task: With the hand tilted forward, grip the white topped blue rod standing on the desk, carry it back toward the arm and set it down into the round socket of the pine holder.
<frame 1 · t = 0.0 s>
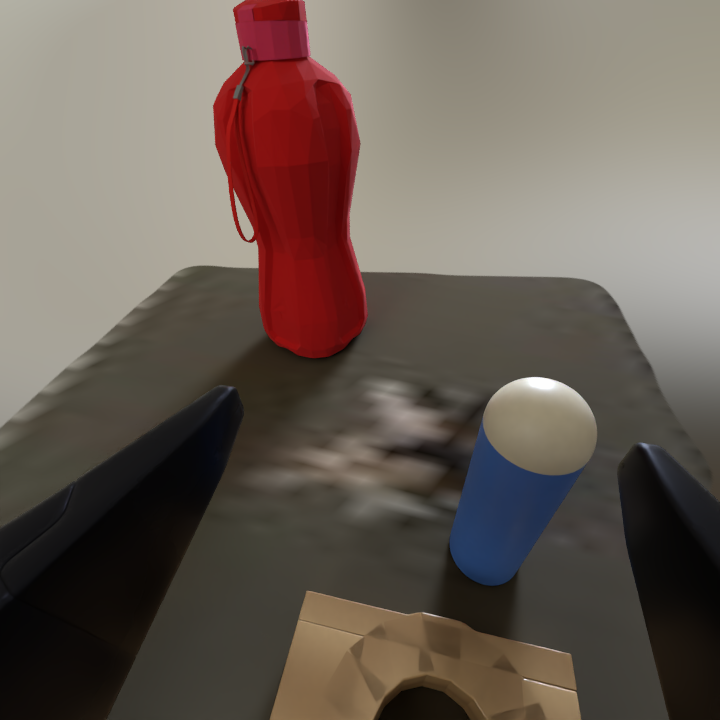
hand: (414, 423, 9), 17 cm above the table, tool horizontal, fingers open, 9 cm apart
water bottle: (312, 337, 38), on the table
white topped blue rod: (483, 548, 22), on the table
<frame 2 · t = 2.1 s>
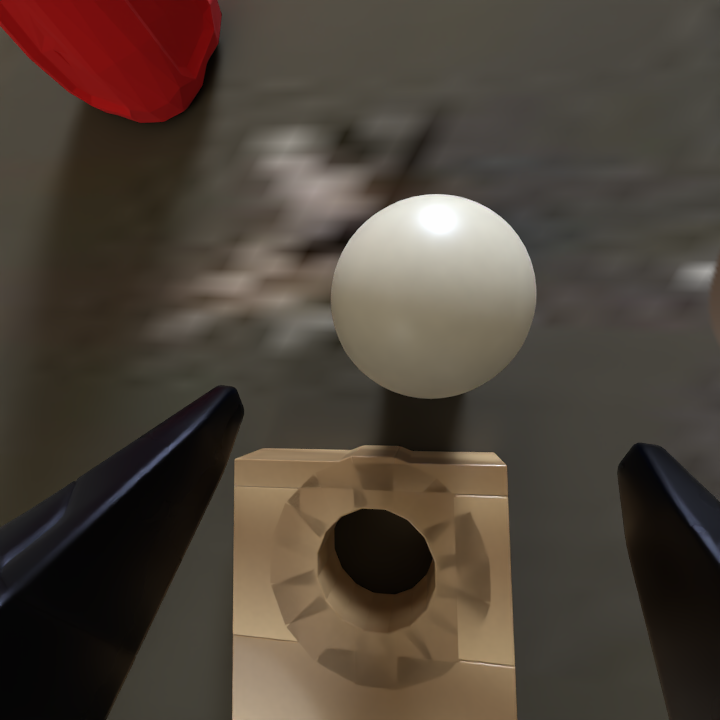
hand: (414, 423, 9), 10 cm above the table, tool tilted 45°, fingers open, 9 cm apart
holder: (373, 581, 19), on the table
water bottle: (153, 73, 23), on the table
white topped blue rod: (428, 351, 19), on the table
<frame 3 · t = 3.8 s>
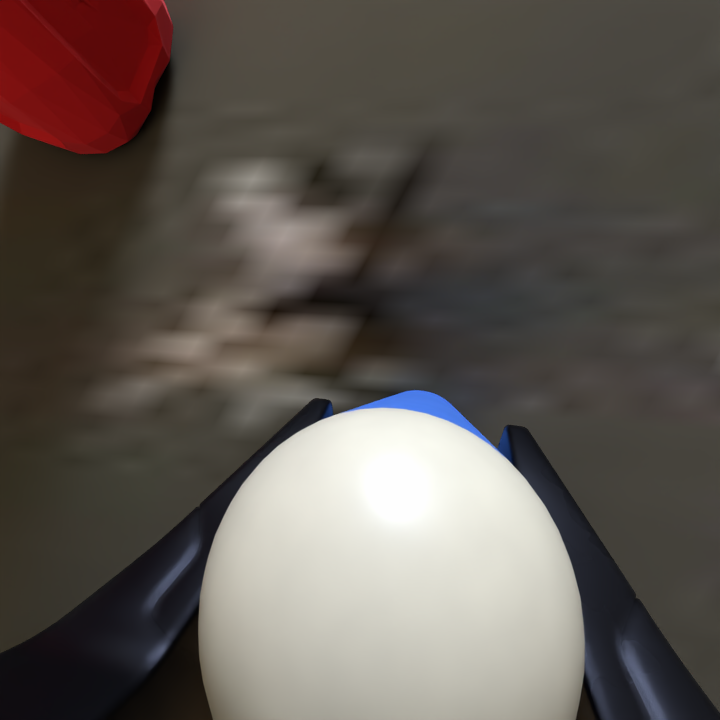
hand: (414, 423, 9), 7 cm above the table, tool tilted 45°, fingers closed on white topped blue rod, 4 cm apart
water bottle: (98, 94, 20), on the table
white topped blue rod: (417, 438, 16), on the table, touching gripper
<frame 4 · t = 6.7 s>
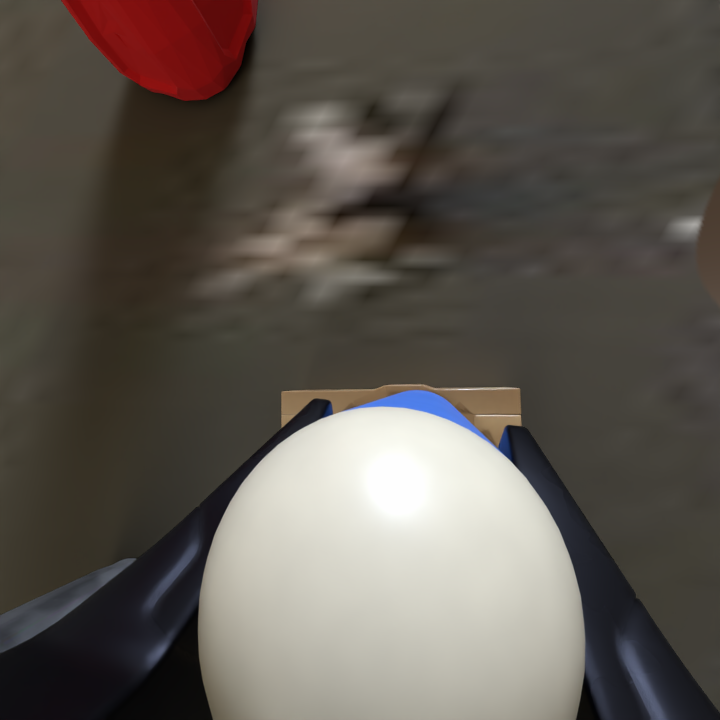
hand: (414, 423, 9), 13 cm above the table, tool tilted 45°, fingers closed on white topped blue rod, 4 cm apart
holder: (401, 502, 21), on the table
water bottle: (194, 56, 26), on the table
beverage cup: (134, 592, 24), on the table
white topped blue rod: (417, 437, 16), point 6 cm above the table, touching gripper
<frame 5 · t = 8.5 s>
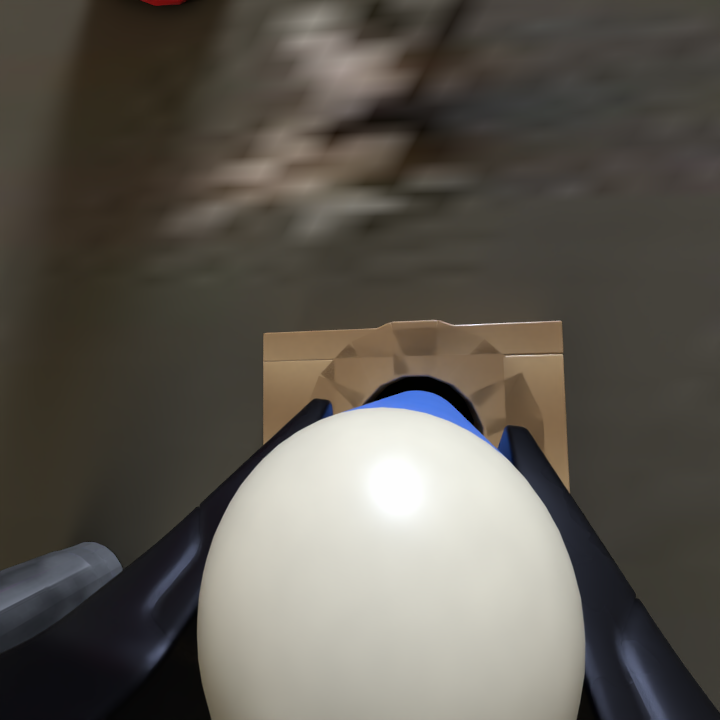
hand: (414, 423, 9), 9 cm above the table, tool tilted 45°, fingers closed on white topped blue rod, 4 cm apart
holder: (409, 472, 18), on the table
beverage cup: (93, 582, 21), on the table
white topped blue rod: (417, 437, 16), point 2 cm above the table, touching gripper
when the fingers open (7 cm above the table, at t = 9.6 s): white topped blue rod stays where it is, resting in holder.
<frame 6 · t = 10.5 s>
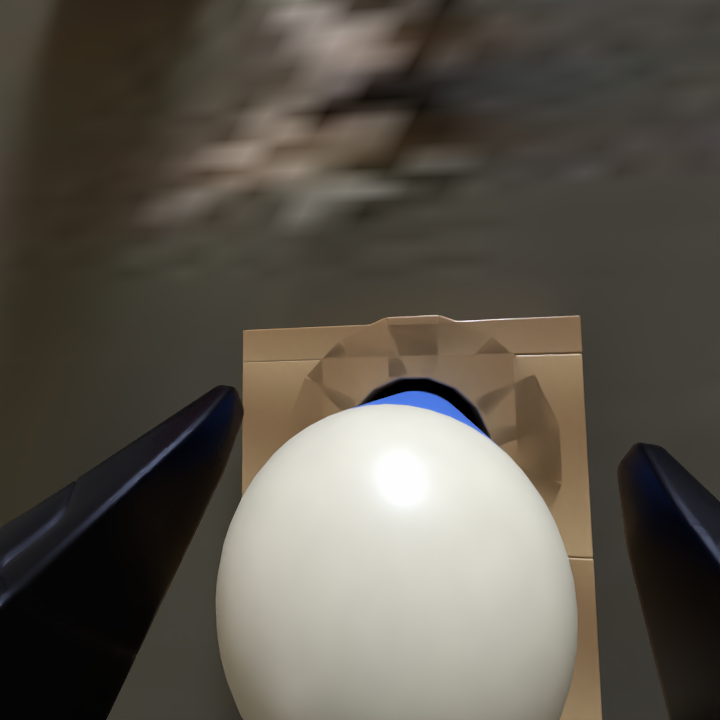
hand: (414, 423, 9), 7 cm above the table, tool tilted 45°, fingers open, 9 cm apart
holder: (406, 486, 16), on the table
white topped blue rod: (417, 436, 16), resting in holder
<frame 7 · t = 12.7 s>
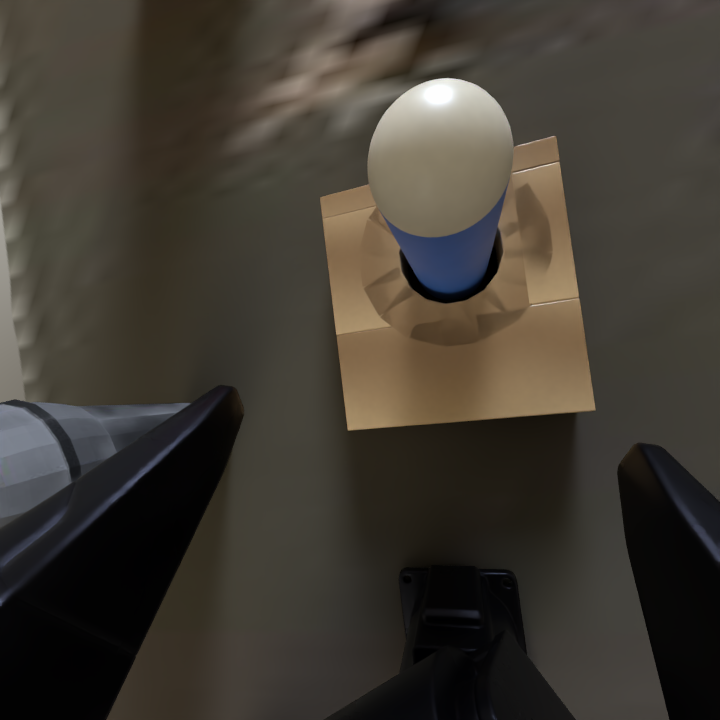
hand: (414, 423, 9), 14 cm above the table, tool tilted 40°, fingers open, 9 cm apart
holder: (446, 302, 22), on the table
beverage cup: (207, 435, 26), on the table
white topped blue rod: (451, 266, 22), resting in holder
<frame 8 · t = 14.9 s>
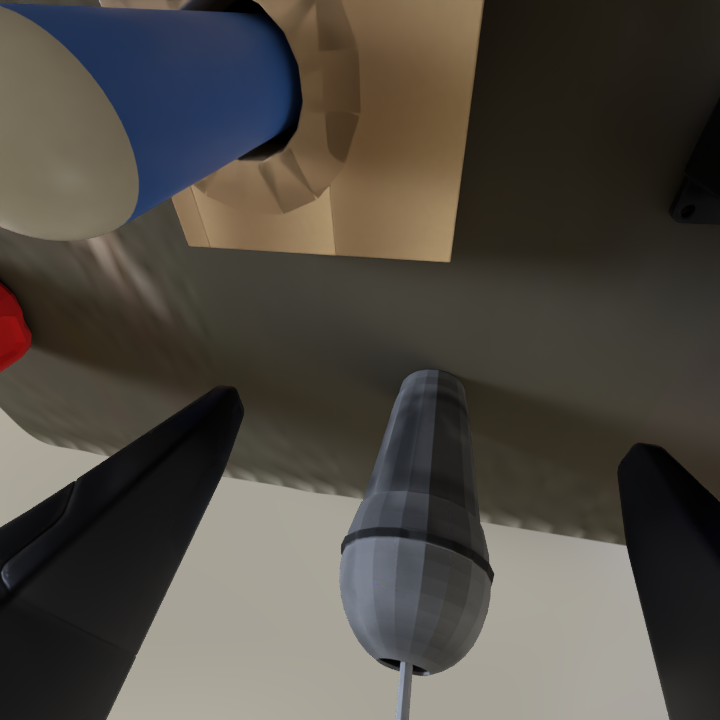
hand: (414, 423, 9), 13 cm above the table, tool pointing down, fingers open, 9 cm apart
holder: (314, 90, 16), on the table
beverage cup: (432, 390, 26), on the table
white topped blue rod: (266, 77, 16), resting in holder
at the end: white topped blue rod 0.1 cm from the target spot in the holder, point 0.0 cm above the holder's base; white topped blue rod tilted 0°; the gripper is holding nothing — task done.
